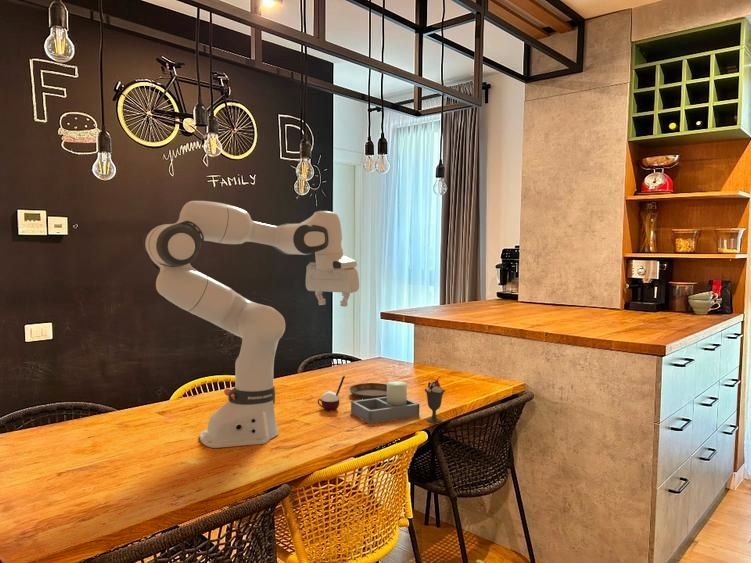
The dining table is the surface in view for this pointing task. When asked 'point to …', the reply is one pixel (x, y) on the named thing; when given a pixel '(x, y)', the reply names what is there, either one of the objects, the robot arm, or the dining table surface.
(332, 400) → the cocoa
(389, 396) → the caddy
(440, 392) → the sundae
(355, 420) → the dining table surface
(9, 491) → the dining table surface
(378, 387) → the plant saucer
